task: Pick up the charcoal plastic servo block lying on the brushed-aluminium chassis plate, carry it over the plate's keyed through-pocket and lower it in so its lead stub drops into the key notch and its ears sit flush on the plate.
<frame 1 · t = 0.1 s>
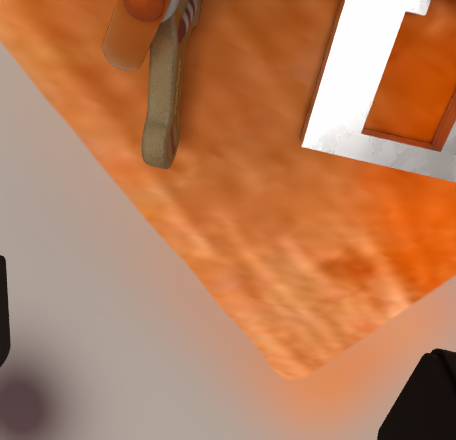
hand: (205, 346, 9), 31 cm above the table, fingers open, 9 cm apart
toy helicopter: (187, 15, 35), on the table
chassis: (440, 17, 33), on the table
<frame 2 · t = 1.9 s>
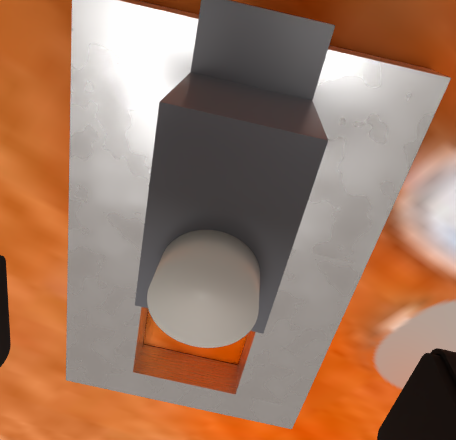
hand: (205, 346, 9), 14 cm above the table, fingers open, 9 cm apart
chassis: (215, 243, 25), on the table
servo: (237, 148, 19), point 2 cm above the table, touching chassis
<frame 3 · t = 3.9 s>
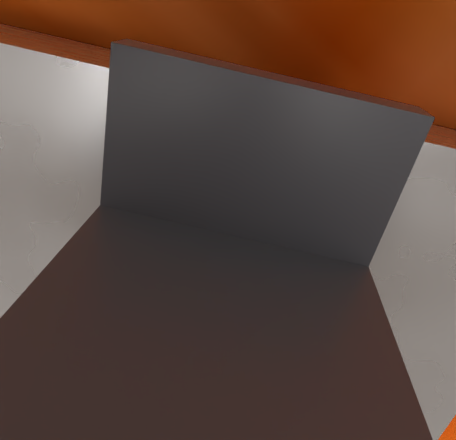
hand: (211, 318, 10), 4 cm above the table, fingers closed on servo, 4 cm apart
chassis: (192, 385, 17), on the table
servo: (217, 285, 11), point 3 cm above the table, touching chassis, gripper
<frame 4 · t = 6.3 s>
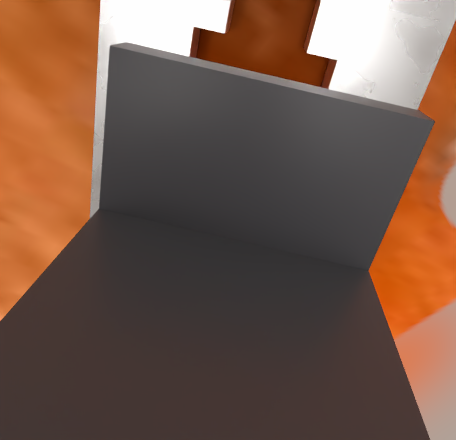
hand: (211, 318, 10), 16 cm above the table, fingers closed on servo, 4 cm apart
chassis: (267, 33, 22), on the table
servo: (217, 287, 11), point 15 cm above the table, touching gripper
when the fingers open (3 cm above the table, at t = 9.0 s): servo drops 2 cm, resting in chassis.
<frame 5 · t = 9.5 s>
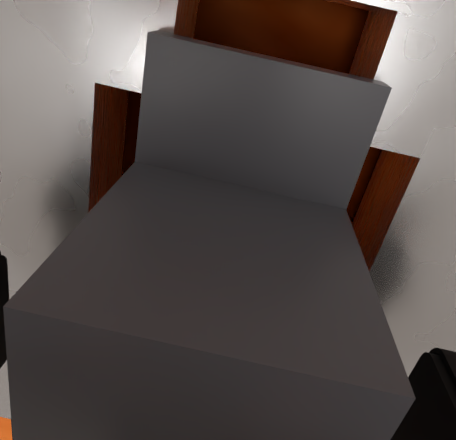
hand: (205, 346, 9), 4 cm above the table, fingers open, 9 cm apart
chassis: (263, 88, 11), on the table
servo: (224, 245, 13), resting in chassis
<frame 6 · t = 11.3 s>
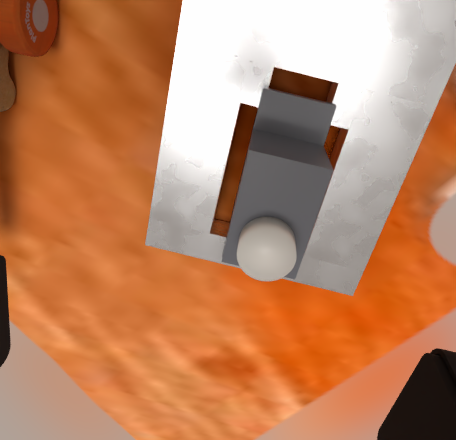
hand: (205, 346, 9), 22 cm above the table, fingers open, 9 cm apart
toy helicopter: (4, 94, 30), on the table
chassis: (293, 105, 28), on the table
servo: (273, 172, 30), resting in chassis
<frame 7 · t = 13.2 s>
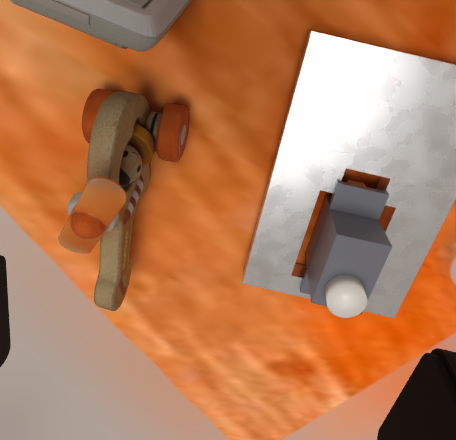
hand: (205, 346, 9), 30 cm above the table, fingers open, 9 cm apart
toy helicopter: (140, 176, 41), on the table
chassis: (354, 185, 39), on the table
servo: (336, 230, 41), resting in chassis
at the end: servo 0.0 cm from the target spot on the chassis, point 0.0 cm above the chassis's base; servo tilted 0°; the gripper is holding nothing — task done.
